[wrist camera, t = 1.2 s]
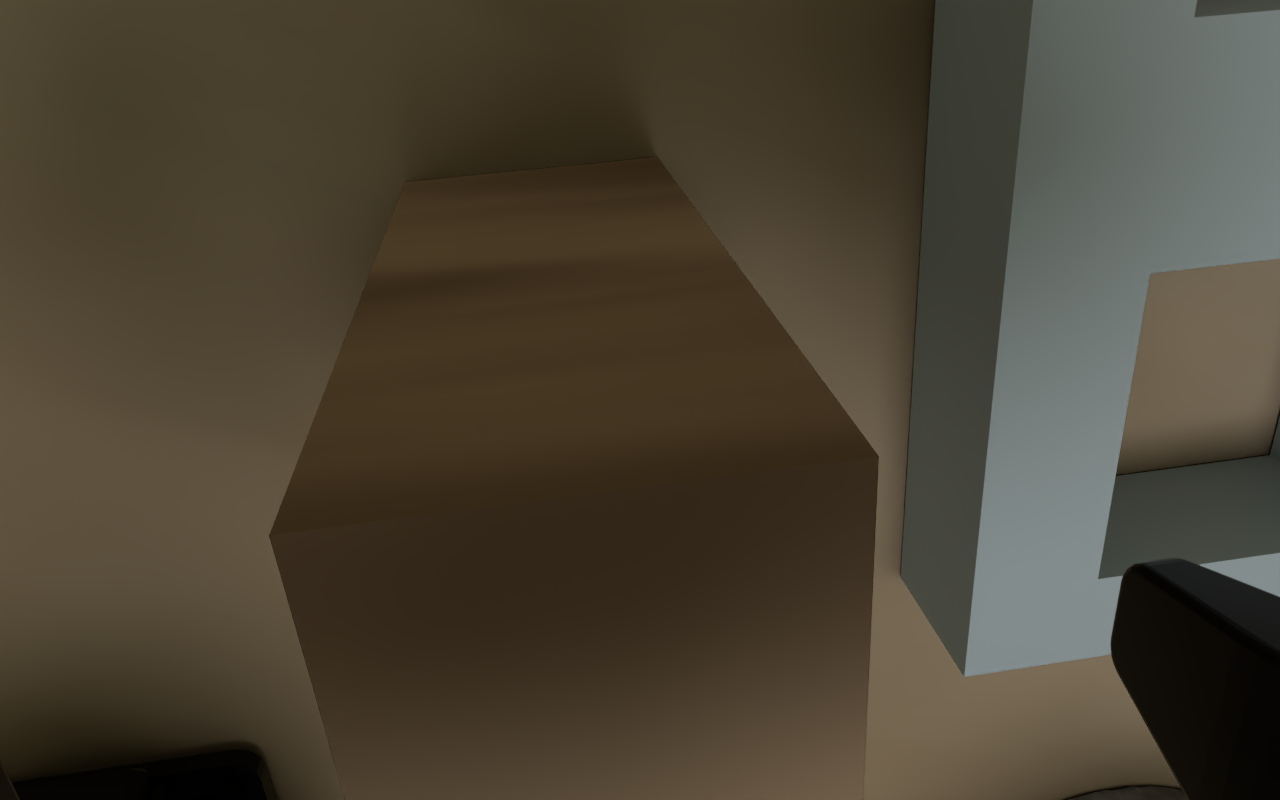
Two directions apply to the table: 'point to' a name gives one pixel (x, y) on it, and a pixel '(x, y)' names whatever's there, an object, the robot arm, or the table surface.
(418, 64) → the table surface
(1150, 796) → the pillar candle
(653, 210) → the peg
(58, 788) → the robot arm
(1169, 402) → the table surface
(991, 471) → the socket block
